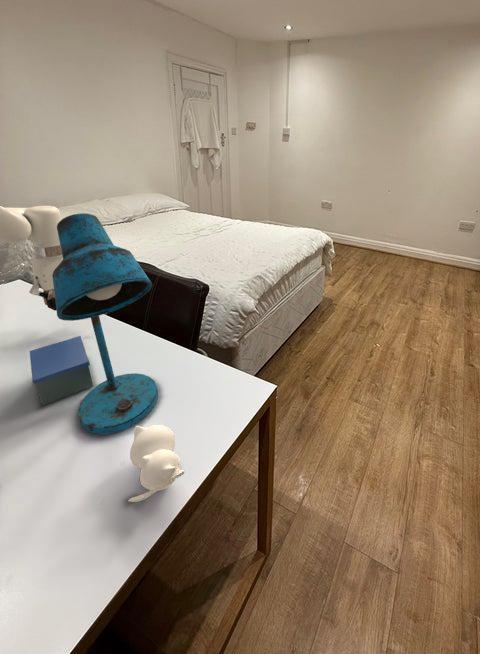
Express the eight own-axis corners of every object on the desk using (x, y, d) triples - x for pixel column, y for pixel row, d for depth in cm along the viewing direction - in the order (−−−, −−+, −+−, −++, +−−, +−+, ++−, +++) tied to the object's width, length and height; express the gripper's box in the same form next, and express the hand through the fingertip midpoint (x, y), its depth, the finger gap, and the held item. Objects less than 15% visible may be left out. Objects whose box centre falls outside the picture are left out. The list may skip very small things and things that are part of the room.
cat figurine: (168, 458, 53) (150, 408, 62) (113, 513, 51) (102, 453, 59) (198, 471, 59) (177, 423, 68) (150, 521, 56) (135, 465, 65)
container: (37, 375, 82) (29, 350, 79) (86, 358, 88) (80, 335, 85) (41, 407, 73) (32, 380, 70) (95, 386, 79) (88, 361, 76)
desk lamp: (99, 466, 61) (40, 244, 44) (70, 399, 75) (17, 212, 58) (179, 418, 72) (156, 225, 55) (141, 367, 86) (113, 201, 69)
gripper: (74, 239, 101) (84, 291, 107) (8, 255, 86) (24, 313, 93) (89, 244, 98) (98, 297, 104) (23, 261, 83) (39, 321, 90)
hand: (63, 304), depth 98 cm, fingers closed on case, 5 cm apart
